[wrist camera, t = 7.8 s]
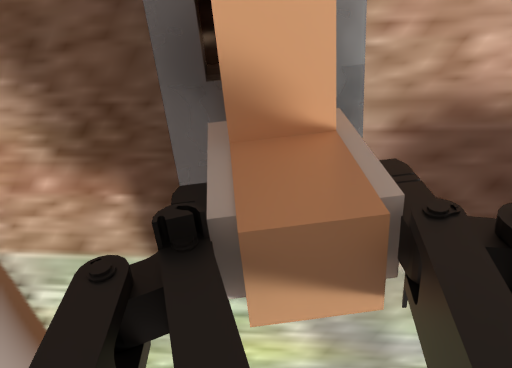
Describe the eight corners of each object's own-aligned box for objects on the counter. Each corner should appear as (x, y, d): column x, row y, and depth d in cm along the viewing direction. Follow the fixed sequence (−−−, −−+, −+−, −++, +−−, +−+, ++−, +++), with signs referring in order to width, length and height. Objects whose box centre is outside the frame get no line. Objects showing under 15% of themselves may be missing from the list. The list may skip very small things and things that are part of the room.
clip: (302, 204, 25) (375, 414, 14) (240, 212, 25) (264, 430, 14) (292, -36, 19) (405, 3, 8) (210, -27, 19) (209, 24, 8)
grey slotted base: (344, 242, 28) (358, 273, 25) (202, 260, 28) (201, 294, 25) (348, -150, 18) (371, -164, 16) (128, -128, 18) (115, -140, 15)
